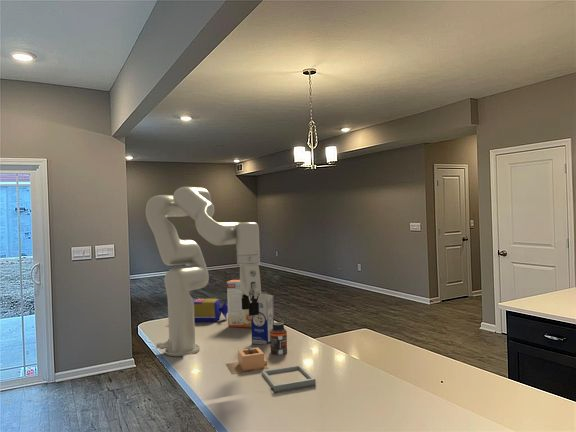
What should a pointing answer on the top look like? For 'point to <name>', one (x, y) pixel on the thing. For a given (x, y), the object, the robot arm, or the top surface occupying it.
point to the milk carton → (263, 320)
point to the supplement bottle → (278, 339)
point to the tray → (291, 385)
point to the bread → (208, 310)
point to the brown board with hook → (236, 368)
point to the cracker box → (236, 306)
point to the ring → (251, 359)
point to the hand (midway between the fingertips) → (250, 311)
